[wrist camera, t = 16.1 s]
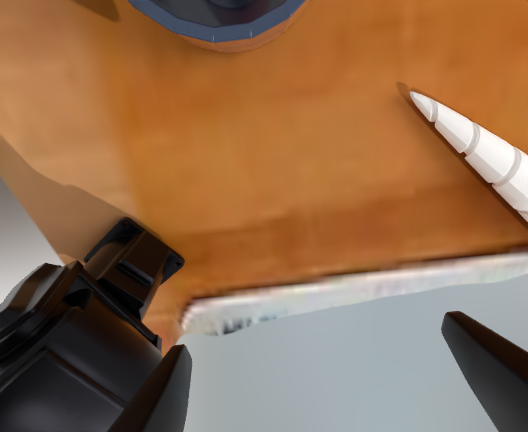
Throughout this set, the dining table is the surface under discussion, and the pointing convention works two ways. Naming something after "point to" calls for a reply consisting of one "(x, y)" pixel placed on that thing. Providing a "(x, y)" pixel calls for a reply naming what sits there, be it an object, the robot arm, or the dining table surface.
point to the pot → (224, 20)
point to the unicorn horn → (482, 152)
